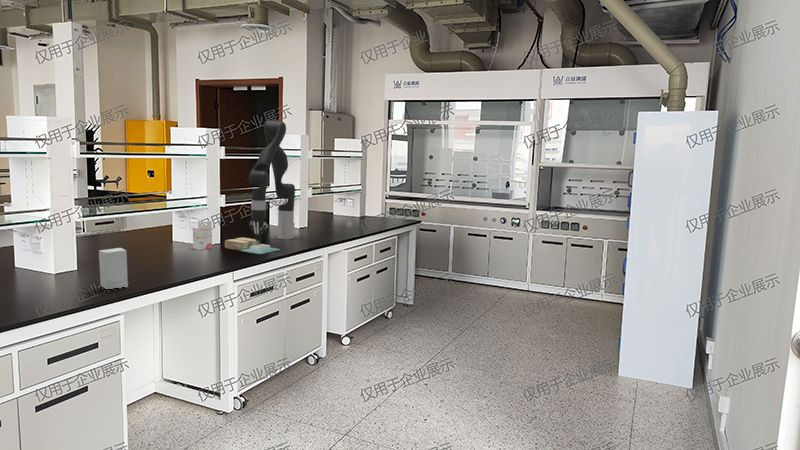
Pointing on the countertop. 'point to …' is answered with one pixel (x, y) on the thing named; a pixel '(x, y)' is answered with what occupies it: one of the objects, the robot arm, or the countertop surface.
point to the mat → (261, 251)
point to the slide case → (259, 247)
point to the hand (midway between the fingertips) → (258, 240)
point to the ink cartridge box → (202, 236)
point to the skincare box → (113, 268)
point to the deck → (240, 243)
